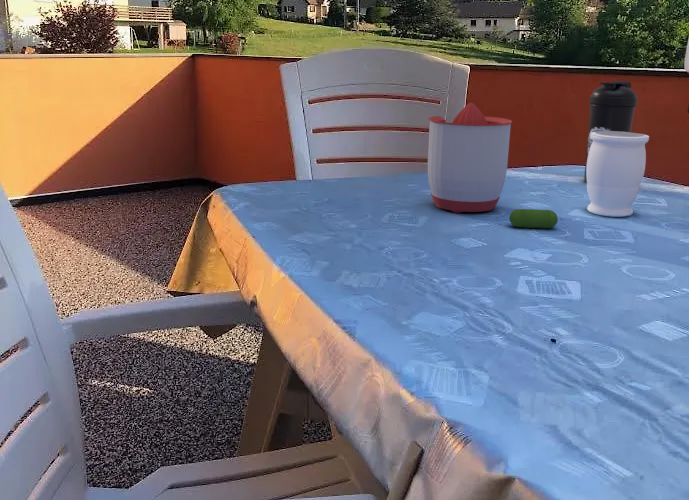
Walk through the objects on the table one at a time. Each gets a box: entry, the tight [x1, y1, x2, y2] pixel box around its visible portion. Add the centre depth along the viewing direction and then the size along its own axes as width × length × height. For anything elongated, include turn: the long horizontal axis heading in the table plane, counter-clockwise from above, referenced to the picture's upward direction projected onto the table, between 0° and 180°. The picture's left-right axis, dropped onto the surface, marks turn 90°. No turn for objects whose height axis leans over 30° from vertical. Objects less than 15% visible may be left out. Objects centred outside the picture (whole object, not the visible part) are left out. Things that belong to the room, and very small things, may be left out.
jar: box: [586, 131, 650, 218], centre depth 134 cm, size 11×10×15 cm
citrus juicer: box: [427, 102, 513, 214], centre depth 136 cm, size 16×17×20 cm
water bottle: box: [583, 80, 639, 184], centre depth 162 cm, size 10×10×23 cm
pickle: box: [509, 208, 559, 229], centre depth 123 cm, size 8×3×3 cm, turn 85°
